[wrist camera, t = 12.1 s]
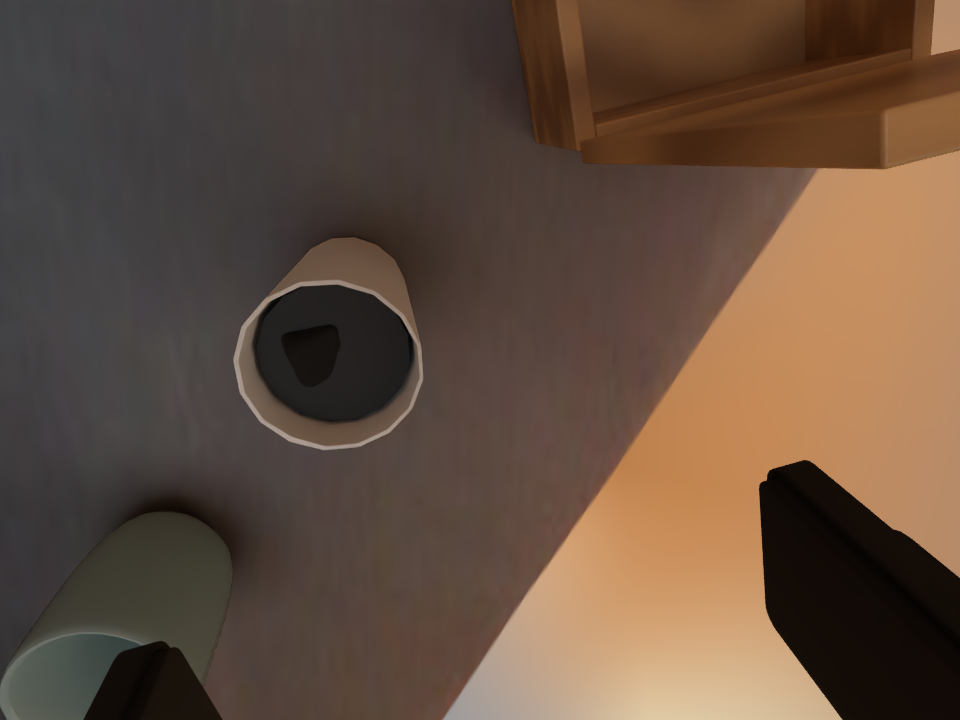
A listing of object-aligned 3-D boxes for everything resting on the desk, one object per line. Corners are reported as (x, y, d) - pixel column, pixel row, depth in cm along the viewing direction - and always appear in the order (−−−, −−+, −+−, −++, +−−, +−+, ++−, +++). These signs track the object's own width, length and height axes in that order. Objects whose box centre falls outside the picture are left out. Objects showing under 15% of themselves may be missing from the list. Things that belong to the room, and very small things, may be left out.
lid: (883, 109, 8) (884, 437, 10) (1816, -122, 9) (1667, 226, 10) (579, 141, 22) (600, 273, 24) (941, 52, 23) (937, 188, 24)
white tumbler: (308, 368, 32) (273, 469, 23) (261, 246, 29) (202, 306, 20) (429, 336, 32) (443, 424, 23) (394, 212, 30) (395, 256, 20)
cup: (274, 541, 36) (233, 688, 27) (188, 619, 37) (121, 785, 28) (161, 464, 33) (72, 599, 24) (73, 551, 34) (-44, 711, 25)
